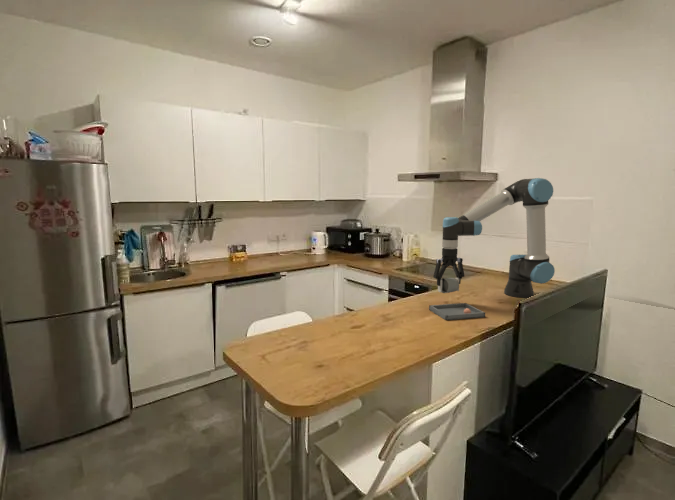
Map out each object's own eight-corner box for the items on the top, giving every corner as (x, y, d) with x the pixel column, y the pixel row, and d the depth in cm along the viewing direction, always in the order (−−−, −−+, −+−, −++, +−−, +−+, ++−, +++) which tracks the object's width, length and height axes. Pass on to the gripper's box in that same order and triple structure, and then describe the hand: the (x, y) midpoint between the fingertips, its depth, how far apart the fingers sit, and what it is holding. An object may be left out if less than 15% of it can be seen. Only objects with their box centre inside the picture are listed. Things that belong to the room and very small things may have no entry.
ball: (468, 313, 174) (468, 307, 174) (472, 315, 171) (472, 309, 171) (462, 314, 174) (462, 307, 173) (466, 316, 171) (466, 310, 170)
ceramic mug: (460, 292, 190) (460, 277, 189) (448, 294, 186) (448, 279, 185) (445, 288, 199) (445, 274, 198) (433, 290, 195) (433, 276, 194)
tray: (465, 307, 187) (465, 302, 186) (485, 317, 171) (485, 312, 171) (429, 309, 182) (429, 305, 182) (445, 320, 167) (446, 315, 166)
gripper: (464, 245, 194) (463, 287, 198) (426, 247, 189) (425, 290, 193) (473, 247, 187) (471, 291, 191) (433, 249, 182) (432, 294, 186)
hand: (448, 291), depth 192 cm, fingers closed on ceramic mug, 9 cm apart
